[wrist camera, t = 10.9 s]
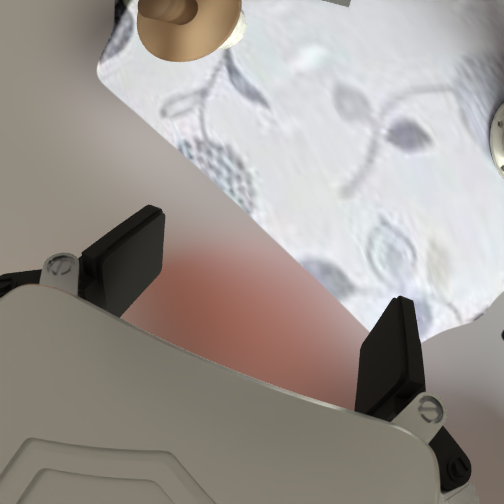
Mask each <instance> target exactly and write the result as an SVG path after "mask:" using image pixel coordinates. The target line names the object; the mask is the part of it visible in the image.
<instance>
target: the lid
mask: <svg viewBox="0 0 504 504" xmlns="http://www.w3.org/2000/svg"><path fill="white" fill-rule="evenodd" d="M240 12H241V0H139V2H138V15H137V30H138V34H139V37H140V40H141V42H142V43H143V45H144V46H145V48H146V49H147V50H148V51H149V52H150V53H151V54H153V55H154V56H156V57H158V58H160V59H163V60H166V61H173V62H187V61H193V60H197V59H199V58H202V57H204V56H206V55H209V54H210V53H212V52H213V51H215V50H216V49H217V48H219V47H220V46H221V45H222V44H223V43H224V42H225V41H226V40H227V39H228V38H229V36H230V35H231V34H232V32H233V30H234V29H235V27H236V25H237V23H238V20H239V17H240Z"/></svg>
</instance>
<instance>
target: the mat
mask: <svg viewBox="0 0 504 504" xmlns="http://www.w3.org/2000/svg"><path fill="white" fill-rule="evenodd" d="M323 1H327V2H331V3H335V4H339V5H343V6H346V7H349V5H350V1H351V0H323Z"/></svg>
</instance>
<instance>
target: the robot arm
mask: <svg viewBox="0 0 504 504" xmlns="http://www.w3.org/2000/svg"><path fill="white" fill-rule="evenodd" d="M498 122H499V124H498ZM490 148H491V153H492V158H493V161H494V163H495V166H496V168H497V170H498V172H499V173H500V175H501V176H502V177H503V179H504V103H503V104H502V105H501V106H500V107H499V108H498V110H497V112H496V113H495V116H494V118H493V121H492V125H491V130H490ZM501 166H502V167H501ZM164 226H165V214H164V213H163V211H162V209H160V208H158V207H155V206H152V205H147V206H145V207H144V208H142V209H141V210H140V211H138V212H136V213H135V214H134V215H132V216H131V217H130V218H128V219H127V220H125V221H124V222H122V223H121V224H119V225H118V226H117V227H115V228H114V229H113V230H111V231H110V232H108V233H107V234H106V235H104V236H103V237H102V238H100V239H99V240H98V241H96V242H95V243H94V244H92V245H91V246H90V247H88V248H87V249H86V250H84V251H83V252H82V256H81V257H79V258H77V257H76V256H74V255H73V254H70V253H58V254H55V255H52V256H51V257H49V258H48V259H47V260H46V261H45V262H44V265H43V268H42V269H41V270H32V271H24V272H16V273H7V274H3V275H1V276H0V504H480V501H479V498H478V496H477V493H476V490H475V488H474V485H473V483H471V484H469V482H468V480H469V478H470V476H471V463H470V461H469V459H468V457H467V456H466V454H465V453H464V452H463V451H462V449H461V448H460V447H459V445H458V444H457V443H456V441H455V440H454V439H453V438H452V436H451V435H450V434H449V433H448V431H447V430H446V429H445V428H444V426H443V424H444V422H445V420H446V417H447V412H446V408H445V405H444V403H443V402H442V400H441V399H440V398H439V397H438V396H437V395H435V394H433V393H430V392H426V388H425V376H424V367H423V358H422V349H421V342H420V339H419V333H418V326H417V320H416V314H415V308H414V302H413V300H410V299H408V298H405V297H403V296H398V297H397V298H393V299H392V300H391V302H390V303H389V305H388V306H387V308H386V309H385V311H384V312H383V314H382V316H381V317H380V319H379V320H378V322H377V323H376V325H375V326H374V328H373V329H372V330H371V332H370V333H369V335H368V336H367V338H366V339H365V341H364V342H363V344H362V346H361V349H360V358H359V371H358V382H357V393H356V401H355V410H354V411H352V410H348V409H345V408H342V407H338V406H335V405H332V404H329V403H325V402H322V401H319V400H316V399H312V398H309V397H306V396H303V395H300V394H297V393H294V392H291V391H288V390H285V389H282V388H280V387H277V386H274V385H271V384H268V383H266V382H263V381H260V380H258V379H255V378H252V377H250V376H247V375H244V374H242V373H239V372H237V371H234V370H232V369H229V368H227V367H224V366H222V365H219V364H217V363H215V362H212V361H210V360H207V359H205V358H203V357H200V356H198V355H196V354H193V353H191V352H189V351H187V350H185V349H182V348H180V347H178V346H176V345H174V344H171V343H169V342H167V341H165V340H163V339H161V338H158V337H156V336H155V335H152V334H150V333H148V332H146V331H144V330H142V329H140V328H138V327H136V326H134V325H132V324H130V323H128V322H126V321H124V320H123V319H121V318H120V317H121V315H122V314H123V313H124V312H125V311H126V310H127V309H128V308H129V307H130V305H131V304H132V303H133V302H134V301H135V300H136V299H137V298H138V297H139V296H140V295H141V293H142V292H143V291H144V290H145V289H146V288H147V287H148V286H149V285H150V283H152V281H153V280H154V279H155V278H156V277H157V276H158V275H159V273H160V272H161V269H162V258H163V241H164V228H165V227H164Z"/></svg>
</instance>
